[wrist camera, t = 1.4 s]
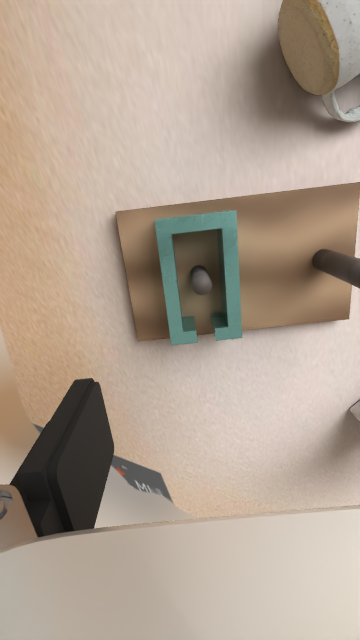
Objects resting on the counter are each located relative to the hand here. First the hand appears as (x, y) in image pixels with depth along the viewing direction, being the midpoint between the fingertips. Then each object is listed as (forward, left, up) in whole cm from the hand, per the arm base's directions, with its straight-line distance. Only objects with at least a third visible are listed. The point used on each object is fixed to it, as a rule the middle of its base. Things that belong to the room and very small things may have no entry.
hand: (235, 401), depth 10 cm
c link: (0, 0, -21) cm, 21 cm away
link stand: (0, +4, -22) cm, 23 cm away
